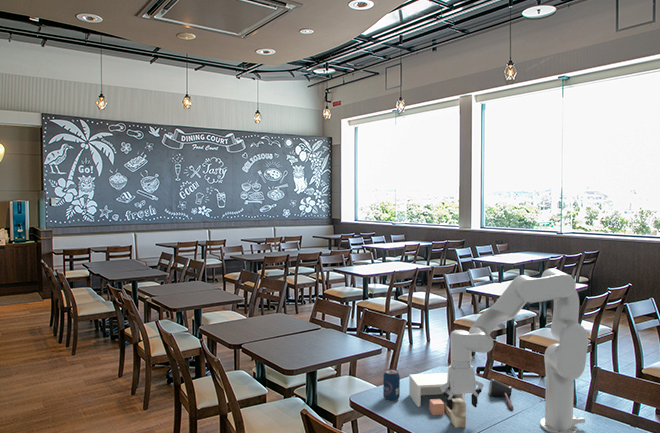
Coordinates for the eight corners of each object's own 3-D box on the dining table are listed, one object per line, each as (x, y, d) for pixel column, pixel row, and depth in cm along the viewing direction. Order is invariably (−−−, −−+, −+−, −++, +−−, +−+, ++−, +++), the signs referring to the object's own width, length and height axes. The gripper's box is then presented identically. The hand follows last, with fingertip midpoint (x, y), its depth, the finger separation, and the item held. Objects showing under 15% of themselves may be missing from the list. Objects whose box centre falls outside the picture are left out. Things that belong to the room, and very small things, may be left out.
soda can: (379, 398, 207) (380, 371, 206) (390, 394, 212) (390, 367, 211) (392, 403, 202) (392, 375, 201) (402, 399, 206) (403, 371, 206)
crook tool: (448, 406, 199) (449, 385, 198) (465, 427, 182) (466, 403, 181) (431, 407, 198) (432, 386, 198) (447, 428, 181) (447, 404, 180)
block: (440, 409, 197) (440, 398, 196) (444, 414, 192) (444, 403, 192) (429, 410, 196) (429, 399, 196) (433, 415, 192) (433, 404, 191)
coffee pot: (487, 390, 215) (507, 394, 213) (490, 412, 198) (512, 418, 196) (491, 374, 214) (511, 379, 212) (494, 396, 196) (516, 401, 195)
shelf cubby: (453, 392, 213) (454, 372, 213) (464, 404, 202) (465, 383, 201) (409, 394, 211) (409, 374, 210) (417, 406, 199) (417, 385, 198)
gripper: (478, 358, 188) (479, 400, 189) (435, 361, 186) (437, 405, 187) (487, 364, 181) (488, 409, 182) (442, 368, 179) (444, 413, 179)
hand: (462, 407), depth 184 cm, fingers open, 9 cm apart
